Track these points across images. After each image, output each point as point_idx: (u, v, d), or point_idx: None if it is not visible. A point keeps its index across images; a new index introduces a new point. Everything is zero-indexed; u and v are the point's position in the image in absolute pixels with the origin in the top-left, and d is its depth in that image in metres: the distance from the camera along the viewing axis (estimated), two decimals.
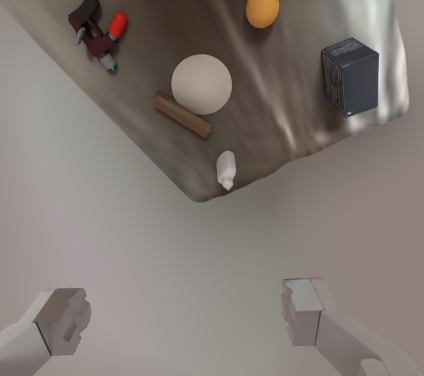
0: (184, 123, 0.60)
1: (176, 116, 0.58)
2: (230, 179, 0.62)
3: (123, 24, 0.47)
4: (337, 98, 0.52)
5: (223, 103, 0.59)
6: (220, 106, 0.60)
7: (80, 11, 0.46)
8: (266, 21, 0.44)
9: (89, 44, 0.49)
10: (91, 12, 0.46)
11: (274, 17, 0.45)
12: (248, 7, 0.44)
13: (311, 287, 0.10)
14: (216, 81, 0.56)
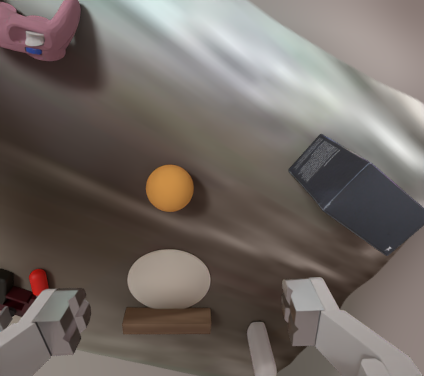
0: (173, 332, 0.43)
1: (158, 330, 0.42)
2: None
3: (41, 281, 0.38)
4: None
5: (207, 283, 0.42)
6: (206, 288, 0.43)
7: None
8: (179, 204, 0.30)
9: (22, 314, 0.40)
10: (4, 289, 0.38)
11: (187, 193, 0.30)
12: (149, 200, 0.31)
13: (311, 287, 0.10)
14: (181, 268, 0.41)
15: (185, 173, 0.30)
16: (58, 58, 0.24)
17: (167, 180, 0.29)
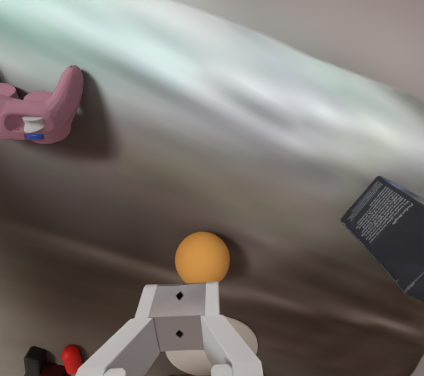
0: None
1: None
2: None
3: (74, 359, 0.36)
4: None
5: (254, 347, 0.37)
6: (254, 352, 0.37)
7: (28, 374, 0.36)
8: (215, 281, 0.25)
9: None
10: (37, 369, 0.36)
11: (223, 267, 0.25)
12: None
13: (203, 292, 0.10)
14: None
15: (218, 242, 0.26)
16: (63, 137, 0.21)
17: (198, 256, 0.24)
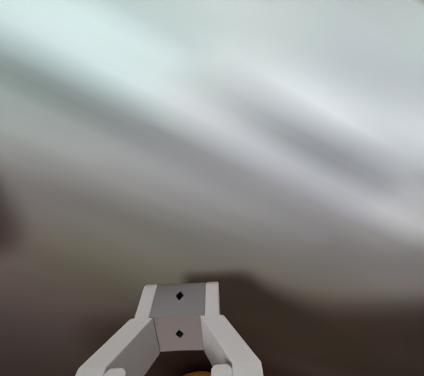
0: None
1: None
2: None
3: None
4: None
5: None
6: None
7: None
8: None
9: None
10: None
11: None
12: None
13: (203, 292, 0.10)
14: None
15: None
16: None
17: None
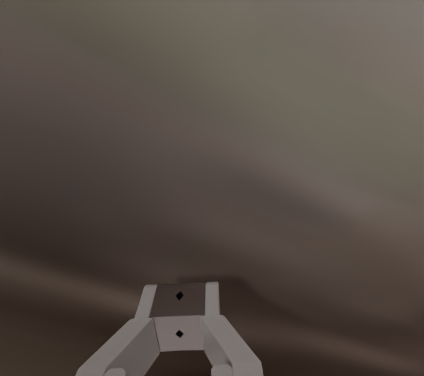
0: None
1: None
2: None
3: None
4: None
5: None
6: None
7: None
8: None
9: None
10: None
11: None
12: None
13: (203, 292, 0.10)
14: None
15: None
16: None
17: None
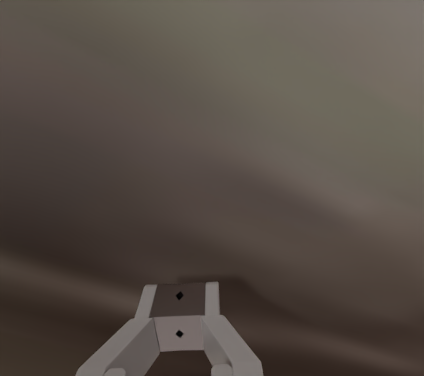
0: None
1: None
2: None
3: None
4: None
5: None
6: None
7: None
8: None
9: None
10: None
11: None
12: None
13: (203, 292, 0.10)
14: None
15: None
16: None
17: None
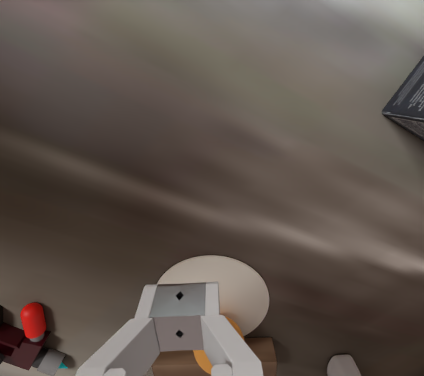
0: None
1: (202, 374, 0.30)
2: None
3: (36, 319, 0.29)
4: None
5: (265, 302, 0.30)
6: (264, 309, 0.30)
7: None
8: None
9: (12, 361, 0.31)
10: None
11: None
12: None
13: (203, 292, 0.10)
14: (226, 283, 0.28)
15: None
16: None
17: None
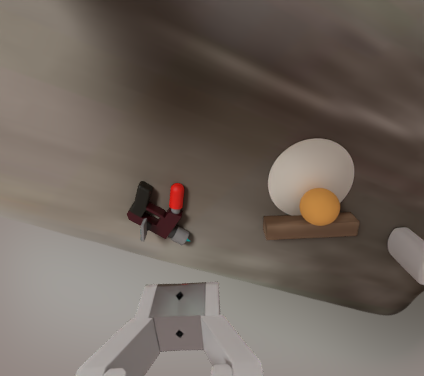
0: (318, 236, 0.41)
1: (303, 233, 0.41)
2: None
3: (182, 193, 0.40)
4: None
5: (350, 179, 0.40)
6: (349, 185, 0.41)
7: (136, 205, 0.40)
8: None
9: (156, 230, 0.42)
10: (147, 200, 0.40)
11: None
12: (302, 215, 0.40)
13: (203, 292, 0.10)
14: (325, 162, 0.39)
15: (338, 207, 0.37)
16: None
17: (325, 220, 0.37)
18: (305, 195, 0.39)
